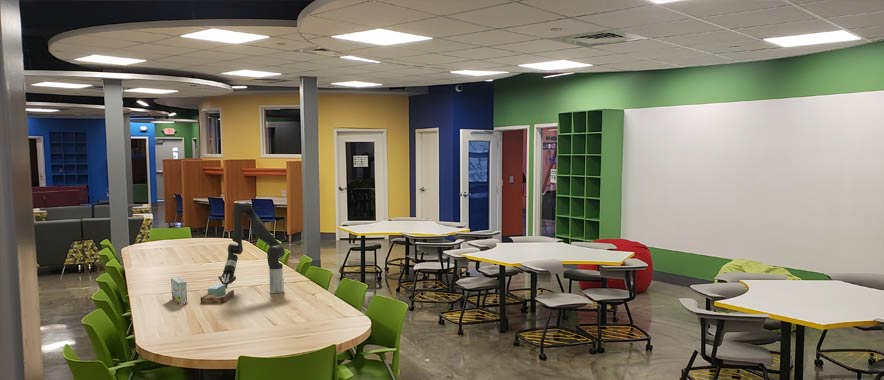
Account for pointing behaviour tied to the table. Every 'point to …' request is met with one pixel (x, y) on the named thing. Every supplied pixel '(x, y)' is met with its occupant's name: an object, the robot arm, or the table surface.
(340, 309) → the table surface
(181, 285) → the snack box
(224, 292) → the block
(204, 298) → the brown u-shaped block
